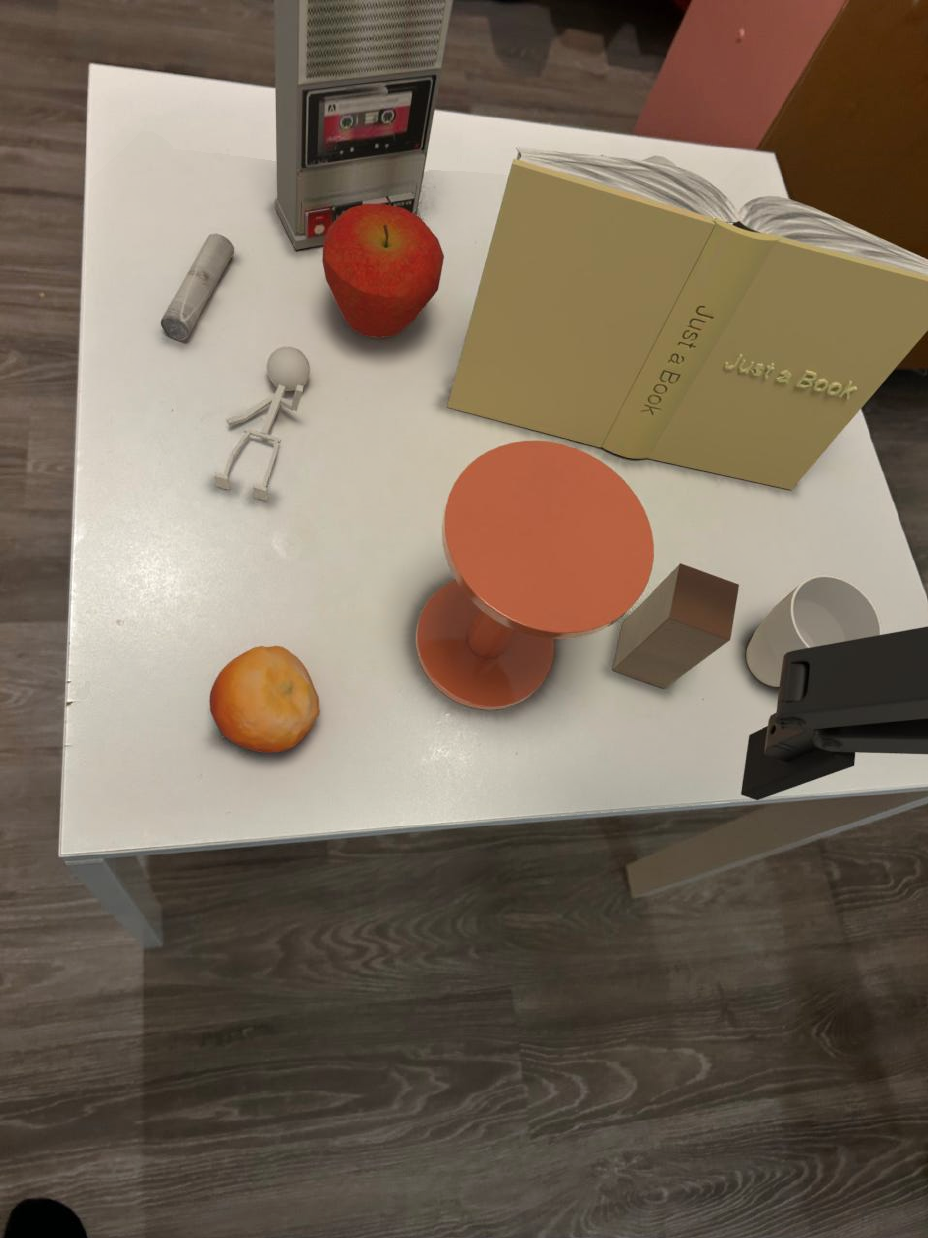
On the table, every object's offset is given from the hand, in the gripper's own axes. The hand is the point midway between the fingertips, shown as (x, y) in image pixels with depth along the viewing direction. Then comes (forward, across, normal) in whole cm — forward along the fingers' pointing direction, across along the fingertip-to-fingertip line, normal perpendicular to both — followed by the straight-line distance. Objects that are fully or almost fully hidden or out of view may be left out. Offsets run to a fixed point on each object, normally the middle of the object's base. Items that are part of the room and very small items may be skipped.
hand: (897, 818), depth 35 cm
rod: (+33, +52, -40) cm, 74 cm away
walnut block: (+33, +2, -20) cm, 38 cm away
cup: (+33, -10, -24) cm, 42 cm away
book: (+33, +9, -44) cm, 56 cm away
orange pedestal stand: (+33, +16, -16) cm, 40 cm away
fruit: (+33, +31, -4) cm, 45 cm away
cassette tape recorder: (+33, +43, -57) cm, 78 cm away
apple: (+33, +36, -45) cm, 66 cm away
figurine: (+33, +41, -29) cm, 60 cm away
